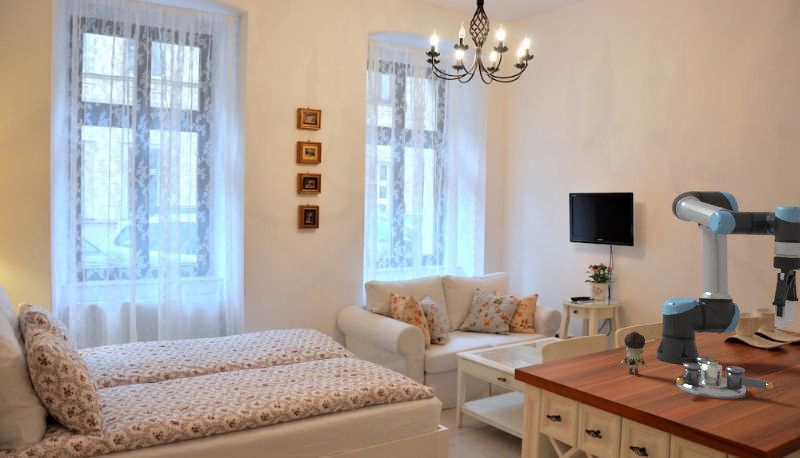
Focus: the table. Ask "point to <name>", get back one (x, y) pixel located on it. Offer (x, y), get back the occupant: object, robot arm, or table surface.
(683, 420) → the table surface
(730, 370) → the knob
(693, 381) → the knob
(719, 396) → the tribrach plate
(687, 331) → the robot arm
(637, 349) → the toy
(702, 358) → the knob
